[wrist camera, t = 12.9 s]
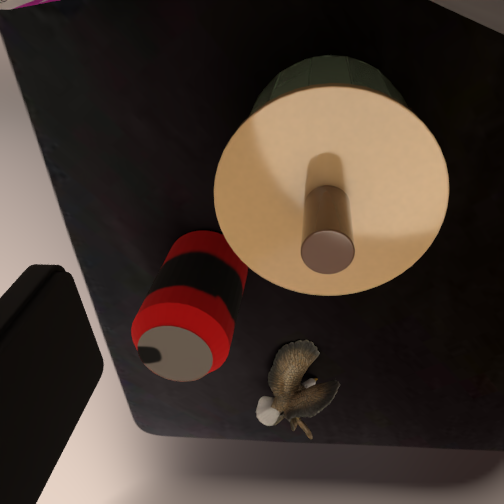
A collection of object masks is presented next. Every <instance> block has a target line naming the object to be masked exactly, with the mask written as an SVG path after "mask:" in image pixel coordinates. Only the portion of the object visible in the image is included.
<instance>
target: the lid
mask: <svg viewBox="0 0 504 504" xmlns="http://www.w3.org/2000/svg"><path fill="white" fill-rule="evenodd" d="M448 199H449V176H448V170H447V165H446V161H445V159H444V156H443V153H442V150H441V148H440V146H439V144H438V143H437V141H436V139H435V137H434V135H433V134H432V132H431V131H430V129H429V128H428V127H427V126H426V124H425V123H424V122H423V121H422V119H421V118H420V117H418V116H417V115H416V114H415V113H414V112H413V111H412V110H411V109H410V108H408V107H407V106H406V105H404V104H403V103H401V102H400V101H398V100H397V99H395V98H393V97H391V96H389V95H387V94H385V93H383V92H380V91H377V90H374V89H371V88H368V87H364V86H359V85H353V84H344V83H325V84H315V85H310V86H306V87H301V88H297V89H294V90H292V91H289V92H286V93H284V94H281V95H279V96H277V97H276V98H274V99H272V100H270V101H268V102H266V103H265V104H264V105H262V106H261V107H259V108H258V109H257V110H255V111H254V112H253V113H252V114H251V115H250V116H249V117H248V118H247V119H246V120H244V121H243V122H242V124H241V125H240V126H239V127H238V129H237V130H236V131H235V132H234V134H233V135H232V137H231V139H230V140H229V142H228V144H227V145H226V147H225V149H224V151H223V154H222V156H221V159H220V161H219V164H218V168H217V172H216V176H215V183H214V205H215V210H216V216H217V219H218V222H219V225H220V228H221V230H222V232H223V234H224V236H225V239H226V241H227V242H228V244H229V245H230V247H231V248H232V250H233V251H234V252H235V253H236V255H237V256H238V257H239V258H240V259H241V260H242V261H243V262H244V263H245V264H246V265H247V266H248V267H249V268H250V269H251V270H253V271H254V272H256V273H257V274H258V275H260V276H261V277H263V278H265V279H267V280H268V281H270V282H272V283H274V284H276V285H279V286H281V287H283V288H286V289H289V290H293V291H296V292H300V293H306V294H312V295H323V296H328V295H344V294H352V293H356V292H361V291H365V290H368V289H371V288H374V287H377V286H379V285H381V284H383V283H386V282H388V281H390V280H391V279H393V278H395V277H396V276H398V275H400V274H401V273H403V272H404V271H405V270H407V269H408V268H409V267H411V266H412V265H413V264H414V263H415V262H416V261H417V260H418V259H419V258H420V257H421V256H422V255H423V254H424V253H425V251H426V250H427V249H428V248H429V246H430V245H431V244H432V242H433V240H434V239H435V237H436V235H437V234H438V232H439V230H440V227H441V225H442V223H443V220H444V217H445V214H446V210H447V206H448Z"/></svg>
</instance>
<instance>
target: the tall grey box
mask: <svg viewBox="0 0 504 504" xmlns="http://www.w3.org/2000/svg"><path fill="white" fill-rule="evenodd" d="M430 1H432V2H434V3H437V4H439V5H441V6H443V7H445V8H448V9H450V10H452V11H454V12H456V13H458V14H461V15H463V16H465V17H467V18H469V19H471V20H474V21H476V22H478V23H480V24H482V25H485V26H487V27H489V28H491V29H493V30H495V31H498V32H500V33H502V34H504V0H430Z"/></svg>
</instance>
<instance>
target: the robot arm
mask: <svg viewBox="0 0 504 504" xmlns="http://www.w3.org/2000/svg"><path fill="white" fill-rule="evenodd" d="M103 366H104V365H103V358H102V356H101V352H100V350H99V347H98V345H97V342H96V339H95V336H94V333H93V331H92V328H91V326H90V323H89V320H88V317H87V314H86V312H85V309H84V306H83V304H82V301H81V298H80V295H79V293H78V290H77V287H76V285H75V282H74V279H73V277H72V275H71V274H70V273H69V272H66V271H65V269H64V268H63V267H62V266H60V265H37V264H35V265H31V266H29V267H28V268H27V269H26V270H25V271H24V272H23V273H22V275H21V276H20V277H19V278H18V279H17V280H16V281H15V282H14V283H13V284H12V286H11V287H10V288H9V289H8V290H7V291H6V292H5V293H4V294H3V296H2V297H1V298H0V504H36V502H37V500H38V498H39V497H40V495H41V493H42V491H43V489H44V487H45V485H46V483H47V481H48V479H49V477H50V475H51V473H52V471H53V469H54V467H55V465H56V463H57V461H58V459H59V458H60V456H61V454H62V452H63V450H64V448H65V446H66V444H67V442H68V440H69V438H70V436H71V434H72V432H73V430H74V428H75V426H76V424H77V423H78V421H79V418H80V416H81V415H82V413H83V411H84V409H85V407H86V405H87V403H88V401H89V399H90V397H91V395H92V393H93V391H94V389H95V387H96V385H97V383H98V381H99V379H100V378H101V375H102V372H103Z"/></svg>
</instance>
